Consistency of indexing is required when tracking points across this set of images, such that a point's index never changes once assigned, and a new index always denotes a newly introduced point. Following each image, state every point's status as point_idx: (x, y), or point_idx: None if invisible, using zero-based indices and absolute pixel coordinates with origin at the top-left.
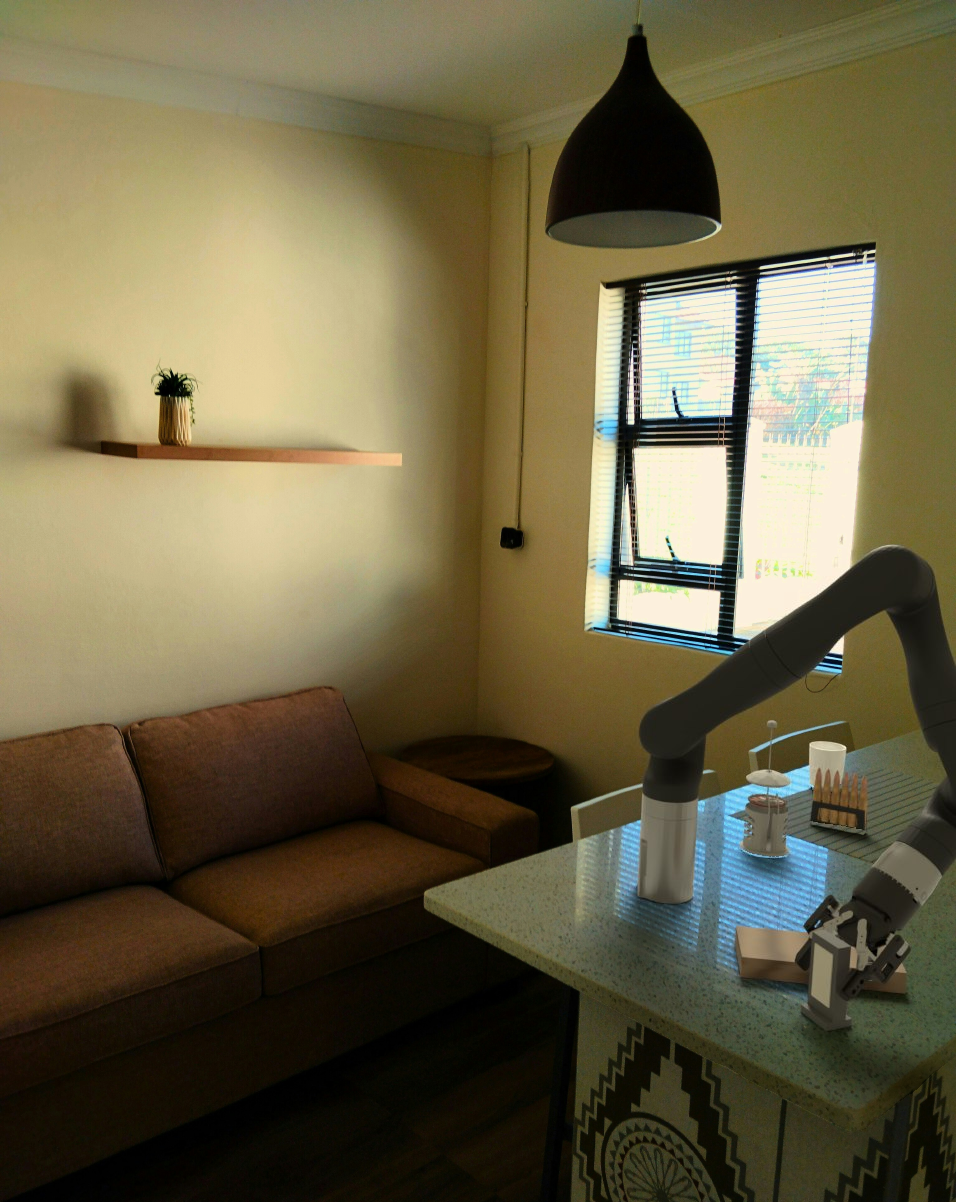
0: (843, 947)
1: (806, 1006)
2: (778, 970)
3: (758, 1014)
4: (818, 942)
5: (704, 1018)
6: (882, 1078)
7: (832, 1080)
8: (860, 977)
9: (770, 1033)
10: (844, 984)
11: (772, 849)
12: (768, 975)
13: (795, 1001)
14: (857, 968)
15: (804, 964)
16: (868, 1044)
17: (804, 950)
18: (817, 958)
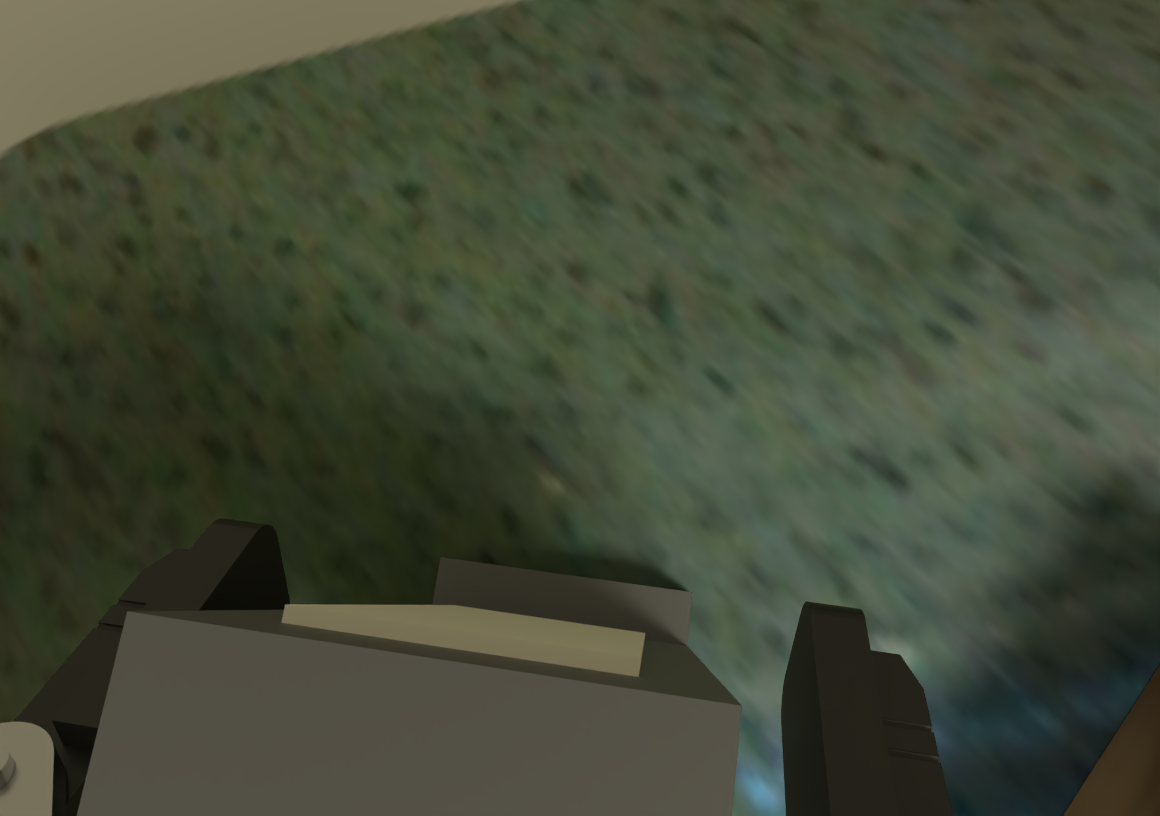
0: (106, 719)
1: (656, 604)
2: (1137, 787)
3: (776, 331)
4: (582, 670)
5: (864, 38)
6: (4, 477)
7: (135, 238)
8: (27, 706)
9: (587, 254)
10: (181, 570)
11: None
12: (1147, 716)
13: None
14: (33, 735)
15: (797, 689)
16: None
17: (846, 711)
18: (579, 638)
